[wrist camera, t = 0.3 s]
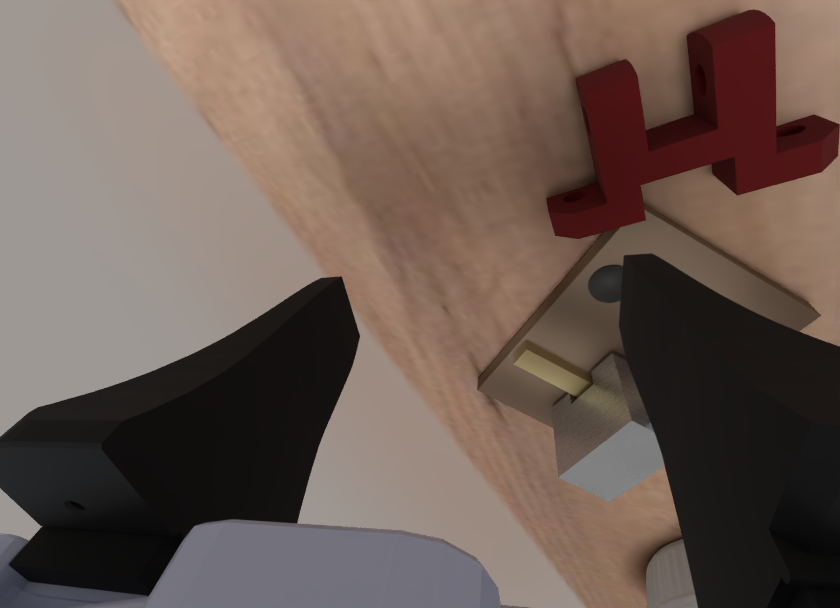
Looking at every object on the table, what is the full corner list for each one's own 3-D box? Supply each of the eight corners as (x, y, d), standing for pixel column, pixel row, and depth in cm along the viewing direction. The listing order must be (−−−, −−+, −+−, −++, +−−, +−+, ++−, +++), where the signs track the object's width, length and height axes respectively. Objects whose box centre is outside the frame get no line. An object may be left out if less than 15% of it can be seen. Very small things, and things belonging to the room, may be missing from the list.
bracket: (557, 244, 19) (853, 163, 15) (519, 109, 16) (867, -26, 13) (552, 217, 21) (808, 141, 18) (518, 95, 18) (812, -22, 15)
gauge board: (615, 447, 28) (635, 532, 24) (478, 378, 27) (471, 453, 22) (809, 303, 21) (890, 385, 16) (633, 197, 20) (670, 256, 15)
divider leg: (595, 431, 26) (609, 502, 22) (551, 408, 25) (558, 477, 22) (715, 333, 21) (758, 403, 17) (664, 304, 21) (697, 369, 17)
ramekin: (602, 568, 36) (614, 645, 32) (706, 502, 30) (739, 587, 25) (719, 616, 37) (747, 697, 33) (844, 562, 31) (898, 654, 27)
